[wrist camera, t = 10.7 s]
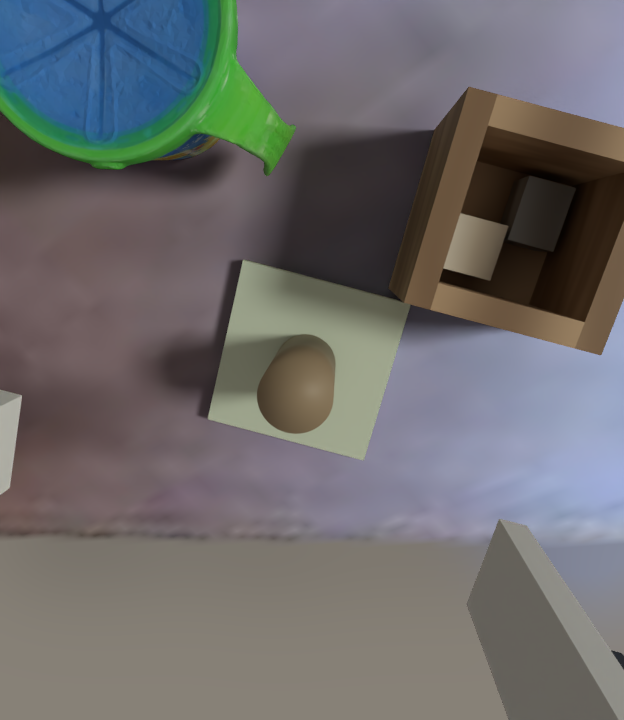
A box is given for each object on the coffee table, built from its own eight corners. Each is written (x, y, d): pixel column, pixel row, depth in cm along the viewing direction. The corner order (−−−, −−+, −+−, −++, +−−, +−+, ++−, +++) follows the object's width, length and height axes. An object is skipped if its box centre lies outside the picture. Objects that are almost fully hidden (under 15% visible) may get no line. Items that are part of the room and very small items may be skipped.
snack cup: (344, 102, 29) (345, 27, 19) (231, 254, 31) (179, 258, 21) (113, -95, 27) (-17, -289, 17) (12, 79, 30) (-156, -6, 20)
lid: (212, 412, 33) (171, 465, 25) (246, 259, 31) (213, 264, 23) (362, 453, 33) (369, 518, 25) (408, 302, 31) (430, 322, 23)
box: (388, 288, 31) (403, 302, 23) (434, 129, 29) (468, 86, 21) (535, 327, 31) (601, 355, 23) (591, 171, 29) (684, 144, 21)
